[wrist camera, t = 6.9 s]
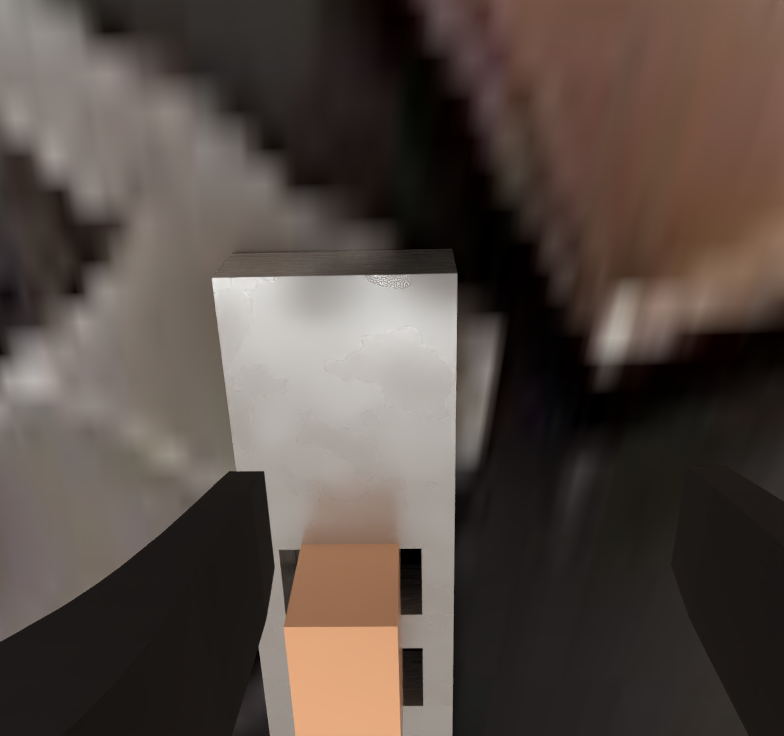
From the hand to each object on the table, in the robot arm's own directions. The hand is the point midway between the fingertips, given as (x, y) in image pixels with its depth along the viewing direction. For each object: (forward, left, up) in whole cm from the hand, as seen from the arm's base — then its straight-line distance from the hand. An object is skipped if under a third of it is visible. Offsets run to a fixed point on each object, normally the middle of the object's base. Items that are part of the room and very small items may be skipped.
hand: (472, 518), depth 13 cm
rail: (+3, +10, -10) cm, 15 cm away
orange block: (+3, +10, -10) cm, 15 cm away
